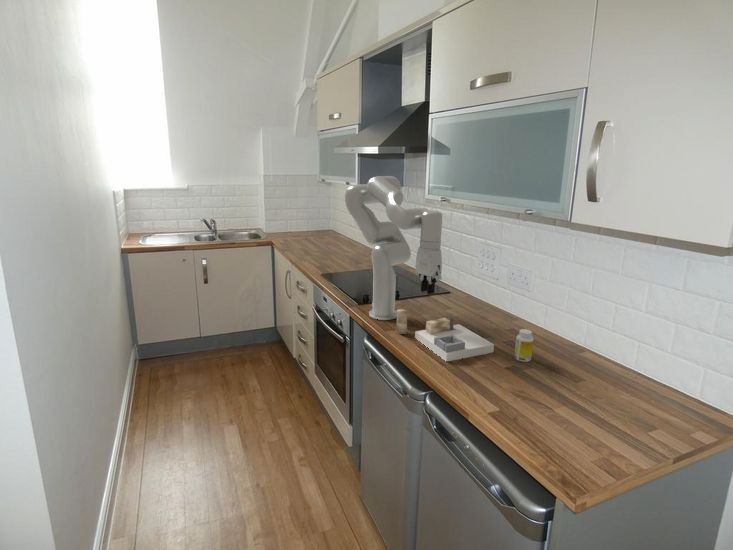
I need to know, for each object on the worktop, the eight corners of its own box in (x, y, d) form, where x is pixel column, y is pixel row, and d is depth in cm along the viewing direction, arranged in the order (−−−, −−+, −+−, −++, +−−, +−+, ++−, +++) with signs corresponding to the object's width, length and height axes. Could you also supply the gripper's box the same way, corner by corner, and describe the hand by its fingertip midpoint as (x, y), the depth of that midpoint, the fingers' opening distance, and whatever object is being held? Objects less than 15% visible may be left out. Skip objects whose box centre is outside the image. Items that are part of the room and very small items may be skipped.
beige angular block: (449, 326, 174) (450, 316, 173) (454, 328, 171) (455, 319, 170) (425, 331, 168) (426, 321, 167) (430, 334, 166) (431, 324, 164)
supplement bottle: (534, 360, 153) (538, 332, 150) (523, 363, 150) (526, 335, 148) (521, 354, 158) (525, 327, 155) (510, 357, 155) (513, 329, 152)
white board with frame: (414, 338, 169) (415, 325, 168) (458, 331, 177) (459, 318, 176) (446, 361, 151) (447, 346, 149) (493, 352, 159) (494, 338, 157)
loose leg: (394, 331, 176) (395, 310, 173) (403, 330, 177) (404, 308, 175) (399, 335, 172) (400, 313, 170) (408, 333, 174) (409, 312, 171)
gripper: (408, 242, 169) (406, 288, 174) (437, 249, 156) (434, 299, 161) (423, 240, 173) (420, 285, 178) (453, 247, 160) (449, 296, 165)
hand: (427, 291), depth 169 cm, fingers open, 2 cm apart
